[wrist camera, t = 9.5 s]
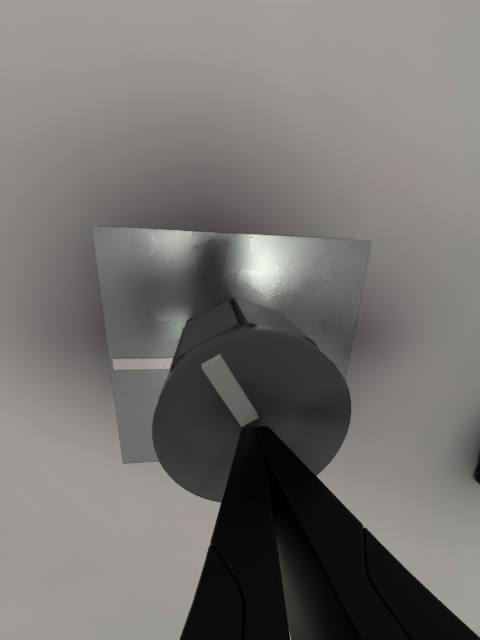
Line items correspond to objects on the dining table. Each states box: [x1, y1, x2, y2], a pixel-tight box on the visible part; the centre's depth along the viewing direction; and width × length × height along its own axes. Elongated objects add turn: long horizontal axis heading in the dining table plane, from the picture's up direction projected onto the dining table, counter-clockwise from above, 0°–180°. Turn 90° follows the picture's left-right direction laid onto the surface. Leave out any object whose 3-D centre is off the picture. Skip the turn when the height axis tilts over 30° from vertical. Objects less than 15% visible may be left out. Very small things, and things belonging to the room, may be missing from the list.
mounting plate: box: [92, 226, 372, 464], centre depth 11 cm, size 13×13×5 cm
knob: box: [152, 299, 351, 502], centre depth 10 cm, size 7×7×5 cm
